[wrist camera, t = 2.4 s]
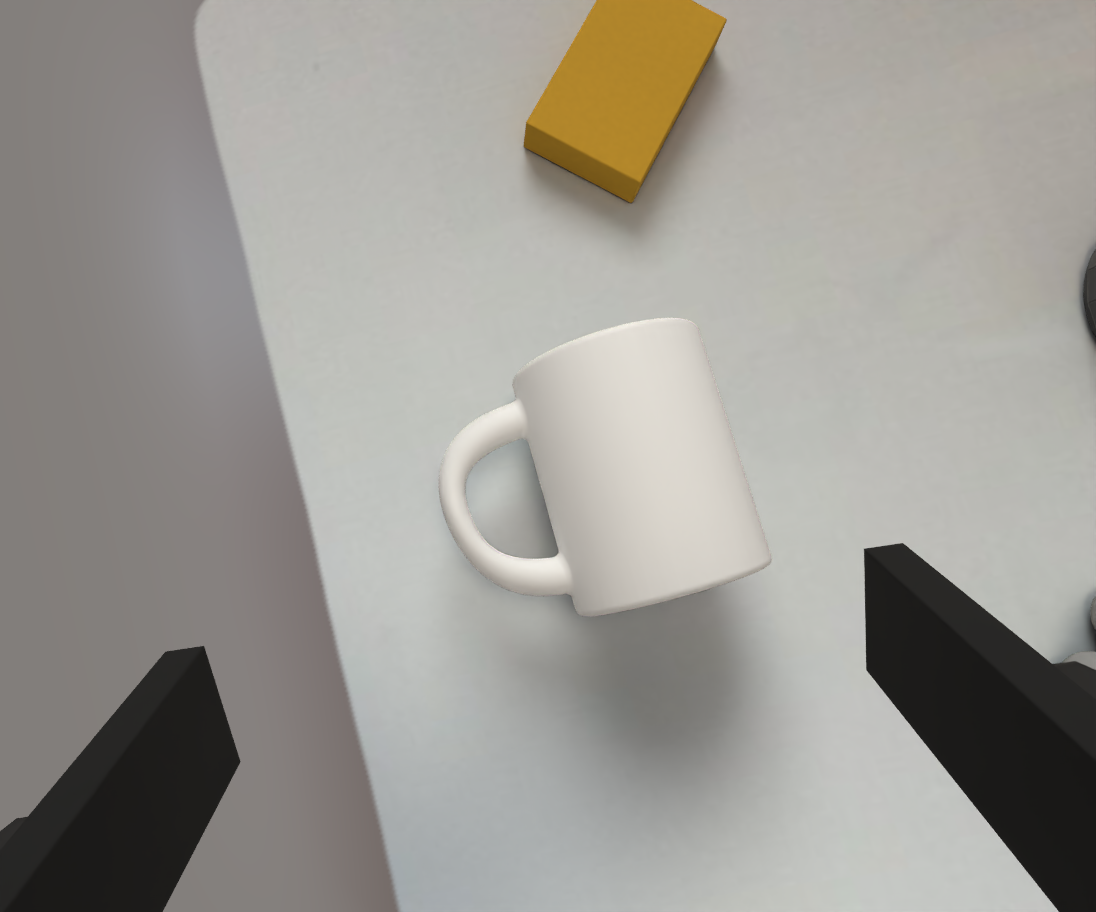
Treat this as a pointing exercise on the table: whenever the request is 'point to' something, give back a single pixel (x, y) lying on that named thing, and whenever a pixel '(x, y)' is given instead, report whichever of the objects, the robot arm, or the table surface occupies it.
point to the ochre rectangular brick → (622, 89)
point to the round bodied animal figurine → (1086, 657)
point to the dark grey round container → (1091, 292)
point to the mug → (618, 472)
